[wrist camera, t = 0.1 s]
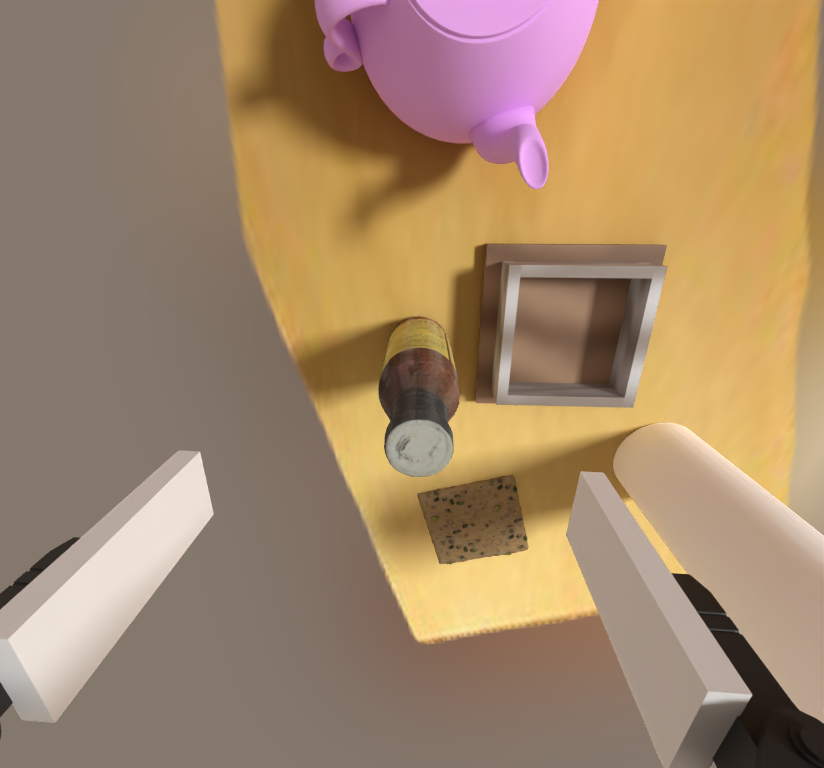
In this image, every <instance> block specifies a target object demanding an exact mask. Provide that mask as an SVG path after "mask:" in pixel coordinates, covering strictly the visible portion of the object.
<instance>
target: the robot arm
mask: <svg viewBox="0 0 824 768" xmlns="http://www.w3.org/2000/svg"><path fill="white" fill-rule="evenodd" d="M212 515H213V509H212V505H211V500H210V496H209V491H208V486H207V482H206V477H205V473H204V468H203V464H202V459H201V455H200V452H196V451H178V452H176V453H175V454H174V455H173V456H172V457H171V458H170V459H169V460H168V461H166V462H165V463H164V464H163V465H162V466H161V467H160V468H159V469H158V470H156V471H155V472H154V473H153V474H152V475H151V476H150V477H148V478H147V479H146V480H145V481H144V482H143V483H142V484H141V485H140V486H138V487H137V488H136V489H135V490H134V491H133V492H132V493H130V495H128V496H127V497H126V498H125V499H124V500H123V501H121V503H119V504H118V505H117V506H116V507H115V508H114V509H113V510H111V511H110V512H109V513H108V514H107V515H106V516H105V517H104V518H102V519H101V520H100V521H99V522H98V523H97V524H96V525H95V526H94V527H92V528H91V529H90V530H89V531H88V532H87V533H86V534H85V535H84V536H82V537H81V538H76V537H74V538H72V539H70V540H68V541H67V542H65V543H63V544H62V545H60V546H58V547H57V548H55V549H53V550H51V551H50V552H49V553H47V554H46V555H45V556H44V557H43V558H42V559H40V560H39V561H38V562H37V563H36V564H35V565H33V566H32V567H31V568H30V571H29V572H25V573H24V574H23V575H22V576H21V577H19V578H18V579H17V580H16V581H15V582H14V584H13V586H9V587H8V588H7V589H5V590H4V591H3V592H2V593H1V594H0V717H1V716H2V715H3V713H4V712H5V711H6V710H7V709H8V708H9V707H10V705H11V704H13V706H14V708H15V709H16V711H17V713H18V714H19V716H20V717H21V719H22V720H29V721H41V722H52V723H55V722H56V721H57V720H58V718H59V717H60V716H61V714H62V713H63V712H64V710H65V709H66V708H67V706H68V705H69V704H70V703H71V701H72V700H73V699H74V697H75V696H76V694H77V693H78V692H79V691H80V689H81V688H82V686H83V685H84V684H85V683H86V681H87V680H88V679H89V677H90V676H91V675H92V674H93V672H94V671H95V670H96V668H97V667H98V666H99V664H100V663H101V662H102V660H103V659H104V658H105V656H106V655H107V654H108V652H109V651H110V650H111V649H112V647H113V646H114V645H115V643H116V642H117V641H118V639H119V638H120V637H121V635H122V634H123V633H124V631H125V630H126V629H127V627H128V626H129V625H130V623H131V622H132V620H134V618H135V617H136V615H137V614H138V613H139V612H140V610H141V609H142V608H143V606H144V605H145V604H146V602H147V601H148V600H149V598H150V597H151V596H152V594H153V593H154V592H155V590H156V589H157V587H159V585H160V584H161V583H162V581H163V580H164V579H165V577H166V576H167V575H168V573H169V572H170V570H171V569H172V568H173V567H174V565H175V564H176V563H177V562H178V560H179V559H180V558H181V556H182V555H183V554H184V552H185V551H186V550H187V548H188V547H189V546H190V544H191V543H192V542H193V540H194V539H195V538H196V537H197V535H198V534H199V533H200V531H201V530H202V529H203V527H204V526H205V524H206V523H207V522H208V520H209V519H210V518H211V517H212ZM566 536H567V538H568V541H569V543H570V545H571V548H572V550H573V553H574V555H575V557H576V560H577V562H578V565H579V567H580V569H581V572H582V574H583V577H584V579H585V581H586V584H587V586H588V589H589V591H590V593H591V596H592V598H593V601H594V603H595V605H596V608H597V610H598V613H599V615H600V617H601V620H602V622H603V625H604V627H605V629H606V632H607V634H608V636H609V639H610V641H611V644H612V646H613V649H614V651H615V653H616V656H617V658H618V661H619V663H620V665H621V668H622V670H623V673H624V675H625V677H626V680H627V682H628V684H629V687H630V689H631V692H632V694H633V697H634V699H635V701H636V704H637V706H638V709H639V711H640V713H641V716H642V718H643V721H644V723H645V725H646V728H647V730H648V733H649V735H650V737H651V740H652V742H653V744H654V747H655V749H656V752H657V754H658V757H659V759H660V761H661V764H662V766H663V768H709V767H710V766H711V764H712V762H713V761H714V762H715V764H716V766H717V768H824V723H822V722H821V721H819V720H818V719H817V718H815V717H812V716H810V715H808V714H806V713H804V712H802V711H800V710H799V709H798V708H797V707H796V706H795V704H794V703H793V702H792V701H791V699H790V698H789V697H788V695H787V694H786V693H785V691H784V690H783V689H782V687H781V686H780V685H779V683H778V682H777V681H776V679H775V678H774V677H773V675H772V674H771V672H770V671H769V670H768V668H767V667H766V666H765V664H764V663H763V662H762V660H761V659H760V658H759V656H758V655H757V654H756V652H755V651H754V650H753V648H752V647H751V646H750V644H749V643H748V642H747V640H746V639H745V637H744V636H743V635H742V634H740V633H739V629H738V628H737V627H736V625H735V624H734V623H733V621H732V620H731V619H730V617H727V616H726V612H725V611H724V609H723V608H722V607H721V605H720V604H719V602H718V601H717V600H716V598H715V597H714V596H713V594H712V593H711V592H710V591H709V590H708V589H706V588H705V587H704V586H703V585H702V584H701V583H699V582H698V581H697V580H696V579H695V578H694V577H692V576H691V575H690V574H674V573H671V572H670V571H669V569H668V568H667V566H666V565H665V563H664V562H663V560H662V559H661V557H660V556H659V554H658V553H657V551H656V550H655V548H654V547H653V545H652V544H651V542H650V541H649V539H648V538H647V536H646V535H645V533H644V532H643V530H642V529H641V527H640V526H639V524H638V523H637V521H636V520H635V518H634V517H633V515H632V514H631V513H630V511H629V510H628V508H627V507H626V505H625V504H624V502H623V501H622V499H621V498H620V496H619V495H618V493H617V492H616V490H615V489H614V487H613V486H612V484H611V483H610V481H609V480H608V478H607V477H606V475H605V474H604V473H603V472H583V471H580V476H579V480H578V485H577V489H576V493H575V498H574V502H573V506H572V511H571V515H570V519H569V524H568V528H567V533H566ZM0 737H1V725H0Z"/></svg>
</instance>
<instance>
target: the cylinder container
mask: <svg viewBox="0 0 824 768" xmlns="http://www.w3.org/2000/svg"><path fill="white" fill-rule="evenodd" d="M613 469H614V473H615V475H616V477H617V479H618V480H619V482H620V483H621V484H622V486H623V487H624V488H625V490H626V491H627V492H628V494H629V495H630V497H631V498H632V499H633V501H634V502H635V503H636V505H637V506H638V507H639V509H640V510H641V511H642V513H643V514H644V516H645V517H646V518H647V520H648V521H649V522H650V524H651V525H652V526H653V528H654V529H655V530H656V532H657V533H658V535H659V536H660V537H661V539H662V540H663V541H664V543H665V544H666V545H667V547H668V548H669V549H670V551H671V552H672V553H673V555H674V556H675V558H676V559H677V560H678V562H679V563H680V564H681V566H682V567H683V568H684V570H685V571H686V572H687V574H690V575H691V576H692V577H694V578H695V579H696V580H697V581H698V582H699V583H701V584H702V585H703V586H704V587H705V588H706V589H708V590H709V591H710V592H711V593H712V594H713V596H714V597H715V598H716V600H717V601H718V602H719V604H720V605H721V607H722V608H723V609H724V611H725V612H726V616H727V617H730V619H731V620H732V621H733V623H734V624H735V625H736V627H737V628H738V629H739V633H740V634H742V635H743V636H744V637H745V639H746V640H747V642H748V643H749V644H750V646H751V647H752V648H753V650H754V651H755V652H756V654H757V655H758V656H759V658H760V659H761V660H762V662H763V663H764V664H765V666H766V667H767V668H768V670H769V671H770V672H771V674H772V675H773V677H774V678H775V679H776V681H777V682H778V683H779V685H780V686H781V687H782V689H783V690H784V691H785V693H786V694H787V695H788V697H789V698H790V699H791V701H792V702H793V703H794V704H795V706H796V707H797V708H798V709H799V710H800V711H802V712H804V713H806V714H808V715H810V716H812V717H815V718H817V719H818V720H819V721H821V722H822V723H824V536H823V535H822V534H821V533H820V532H818V531H817V530H816V529H814V528H813V527H812V526H811V525H809V524H808V523H807V522H806V521H804V520H803V519H802V518H801V517H799V516H798V515H797V514H795V513H794V512H793V511H792V510H790V509H789V508H788V507H787V506H785V505H784V504H783V503H782V502H780V501H779V500H778V499H776V498H775V497H774V496H773V495H771V494H770V493H769V492H768V491H766V490H765V489H764V488H763V487H761V486H760V485H759V484H757V483H756V482H755V481H754V480H752V479H751V478H750V477H749V476H747V475H746V474H745V473H744V472H742V471H741V470H740V469H738V468H737V467H736V466H735V465H733V464H732V463H731V462H730V461H728V460H727V459H726V458H725V457H723V456H722V455H721V454H719V453H718V452H717V451H716V450H714V449H713V448H712V447H711V446H709V445H708V444H707V443H705V442H704V441H703V440H702V439H700V438H699V437H698V436H697V435H695V434H694V433H693V432H692V431H690V430H689V429H687V428H686V427H684V426H682V425H679V424H675V423H669V422H662V423H654V424H650V425H647V426H644V427H642V428H640V429H638V430H636V431H634V432H633V433H631V434H630V435H629V436H628V437H626V438H625V439H624V441H623V442H622V443H621V444H620V446H619V447H618V449H617V451H616V453H615V456H614V460H613Z"/></svg>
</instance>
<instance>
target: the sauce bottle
mask: <svg viewBox="0 0 824 768" xmlns="http://www.w3.org/2000/svg"><path fill="white" fill-rule="evenodd" d="M378 389H379V399H380V403H381V405H382V407H383V409H384V411H385V413H386V414H387V416H388V417H389V419H390V423H389V425H388V427H387V429H386V434H385V445H384V449H385V454H386V457H387V459H388V461H389V463H390V464H391V465H392V466H393V467H394V468H395V469H396V470H397V471H399V472H401V473H403V474H406V475H409V476H414V477H425V476H431V475H433V474H436V473H438V472H439V471H441V470H442V469H443V468H445V467H446V465H447V464H448V463H449V461H450V460H451V457H452V454H453V434H452V431H451V428H450V426H449V424H448V422H449V420H450V419H451V418H452V417H453V415H454V414H455V412H456V410H457V408H458V405H459V388H458V377H457V372H456V368H455V364H454V359H453V355H452V351H451V346H450V342H449V339H448V336H447V334H446V333H445V332H444V329H443V328H442V326H440V325H439V324H438V323H437V322H435V321H434V320H431V319H428V318H425V317H419V316H418V317H413V318H410V319H408V320H405V321H403V322H401V323H400V324H399V325H398V326H397V327H396V329H395V330H394V332H393V333H392V335H391V337H390V339H389V342H388V346H387V351H386V355H385V358H384V364H383V368H382V372H381V376H380V381H379V388H378Z"/></svg>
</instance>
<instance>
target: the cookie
mask: <svg viewBox="0 0 824 768" xmlns="http://www.w3.org/2000/svg"><path fill="white" fill-rule="evenodd" d="M418 498H419V501H420V505H421V508H422V510H423V513H424V518H425V520H426V522H427V525H428V529H429V531H430V535H431V538H432V542H433V544H434V547H435V550H436V553H437V556H438V559H439V563H440V564H452V563H455V562H461V561H462V562H464V561H467V560H471V559H479V558H483V557H491V556H499V555H511V553H516V552H519V551H524V550H527V549H528V543H527V537H526V532H525V528H524V525H523V518H522V514H521V508H520V506H519V502H518V495H517V488H516V486H515V479H514V477H513V476H502V477H500V478H495V479H490V480H485V481H477V482H474V483H470V484H464V485H460V486H453V487H450V488H444V489H437V490H434V491H428V492H425V493H419V494H418Z"/></svg>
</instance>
